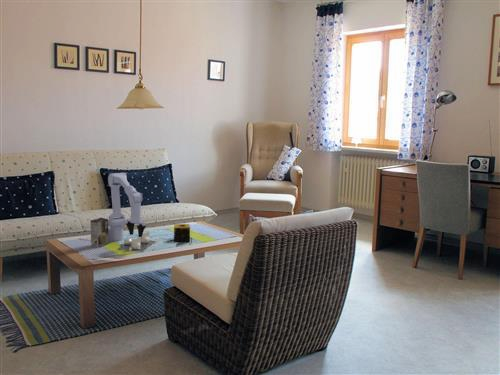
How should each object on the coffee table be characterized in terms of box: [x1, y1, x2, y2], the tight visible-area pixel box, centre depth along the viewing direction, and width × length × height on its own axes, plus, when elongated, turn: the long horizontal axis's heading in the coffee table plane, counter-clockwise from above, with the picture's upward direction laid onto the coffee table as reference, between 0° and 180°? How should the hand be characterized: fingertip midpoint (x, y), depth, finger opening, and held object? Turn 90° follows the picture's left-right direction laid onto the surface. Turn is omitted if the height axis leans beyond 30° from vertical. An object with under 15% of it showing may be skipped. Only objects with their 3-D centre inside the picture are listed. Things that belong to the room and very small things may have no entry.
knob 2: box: [139, 231, 150, 243], centre depth 315 cm, size 6×5×6 cm
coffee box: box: [90, 217, 110, 248], centre depth 311 cm, size 9×6×16 cm
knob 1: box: [130, 237, 141, 249], centre depth 301 cm, size 6×5×6 cm
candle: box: [173, 223, 191, 243], centre depth 327 cm, size 10×10×10 cm
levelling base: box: [116, 238, 157, 253], centre depth 309 cm, size 16×24×4 cm
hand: (135, 235), depth 300 cm, fingers open, 7 cm apart
